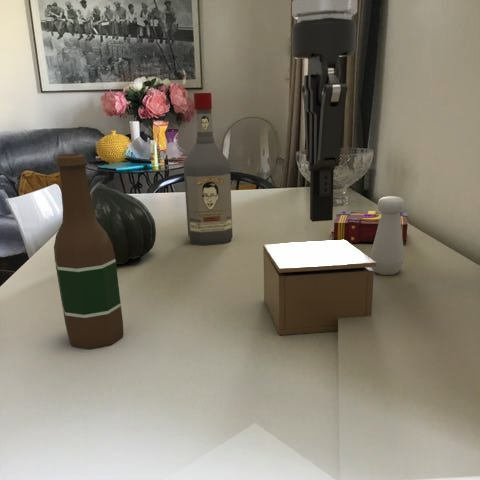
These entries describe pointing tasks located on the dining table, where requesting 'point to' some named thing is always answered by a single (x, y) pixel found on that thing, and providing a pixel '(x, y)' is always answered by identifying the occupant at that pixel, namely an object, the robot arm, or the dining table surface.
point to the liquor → (207, 182)
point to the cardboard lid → (316, 256)
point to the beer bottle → (85, 263)
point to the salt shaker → (389, 237)
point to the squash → (124, 223)
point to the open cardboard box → (316, 297)
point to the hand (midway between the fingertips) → (321, 219)
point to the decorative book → (361, 226)
